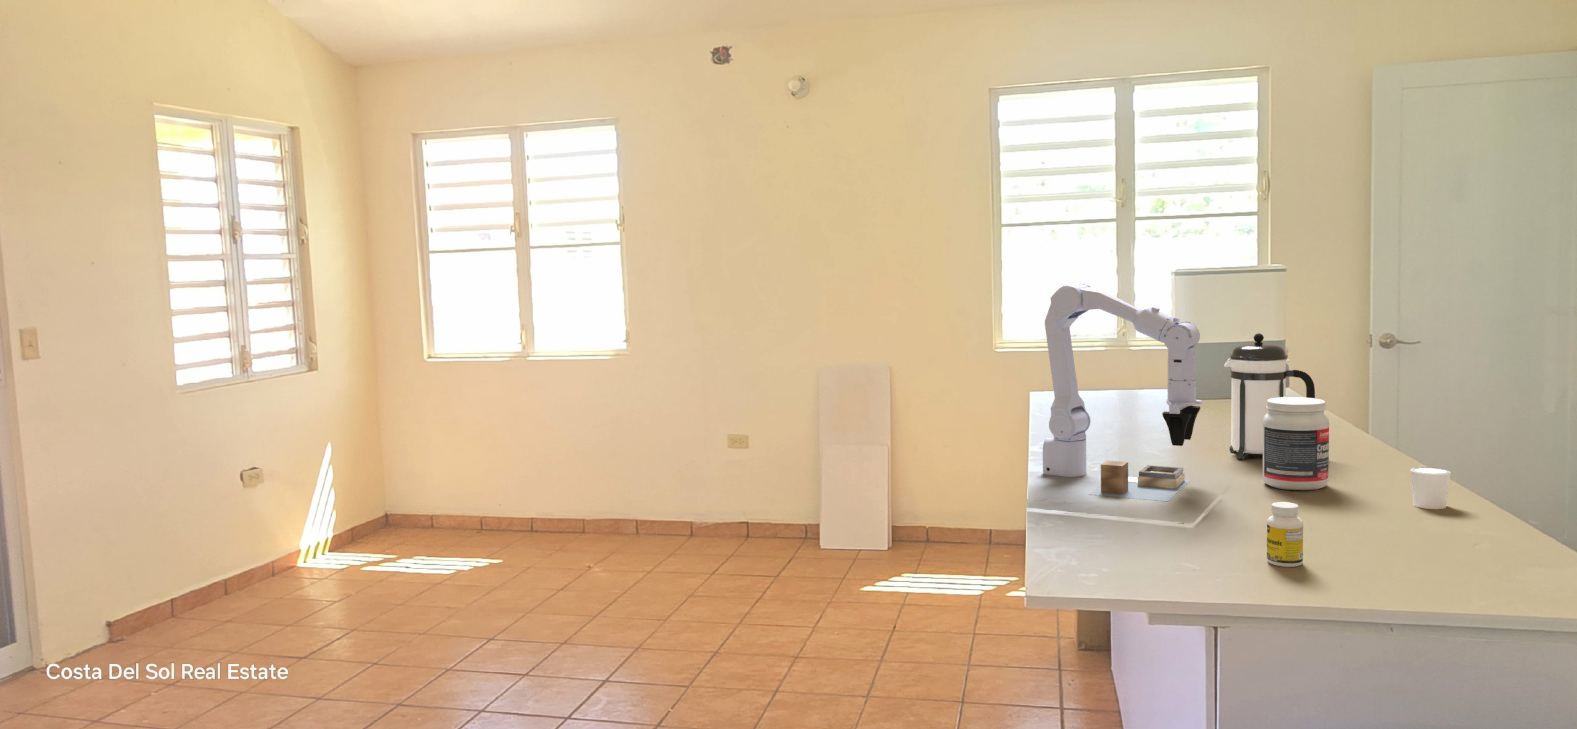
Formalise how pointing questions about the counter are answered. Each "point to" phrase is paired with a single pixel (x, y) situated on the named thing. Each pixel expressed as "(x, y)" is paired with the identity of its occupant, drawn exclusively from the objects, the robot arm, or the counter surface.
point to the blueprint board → (1145, 492)
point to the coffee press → (1257, 391)
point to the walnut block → (1114, 477)
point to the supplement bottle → (1285, 536)
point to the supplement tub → (1296, 443)
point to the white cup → (1430, 487)
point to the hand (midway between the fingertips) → (1181, 442)
